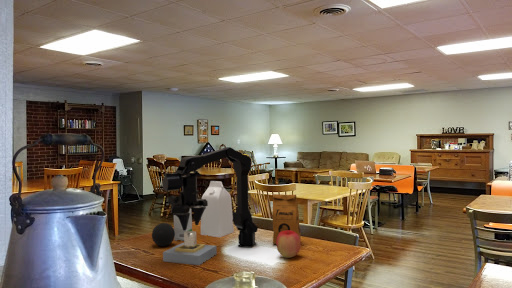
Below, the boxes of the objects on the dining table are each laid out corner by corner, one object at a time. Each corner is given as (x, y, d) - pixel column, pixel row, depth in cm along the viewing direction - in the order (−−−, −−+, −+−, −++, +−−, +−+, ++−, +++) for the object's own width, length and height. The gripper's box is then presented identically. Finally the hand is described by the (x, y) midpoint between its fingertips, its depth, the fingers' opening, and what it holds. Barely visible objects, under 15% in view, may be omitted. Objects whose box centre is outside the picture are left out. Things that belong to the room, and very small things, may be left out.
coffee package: (297, 248, 161) (296, 196, 161) (270, 245, 166) (268, 195, 165) (303, 242, 170) (302, 193, 170) (277, 240, 175) (275, 192, 175)
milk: (233, 232, 192) (232, 180, 192) (219, 237, 182) (218, 183, 182) (214, 229, 199) (213, 179, 198) (200, 234, 189) (199, 182, 189)
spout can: (198, 254, 153) (198, 231, 153) (192, 257, 148) (192, 234, 148) (183, 252, 155) (183, 230, 155) (177, 255, 151) (176, 233, 151)
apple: (272, 255, 152) (272, 230, 152) (294, 252, 155) (293, 227, 155) (282, 262, 143) (282, 235, 143) (305, 258, 146) (304, 233, 146)
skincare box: (186, 241, 177) (185, 207, 177) (173, 240, 178) (172, 207, 178) (193, 236, 185) (192, 204, 185) (180, 236, 186) (179, 204, 186)
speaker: (170, 241, 177) (169, 220, 177) (178, 246, 169) (177, 223, 168) (149, 245, 172) (148, 223, 172) (156, 250, 163) (155, 227, 163)
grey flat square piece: (216, 254, 155) (216, 243, 155) (199, 265, 142) (199, 253, 142) (182, 251, 161) (182, 240, 161) (163, 261, 148) (162, 249, 148)
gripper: (184, 185, 163) (185, 221, 163) (158, 191, 146) (159, 231, 146) (207, 185, 159) (208, 223, 159) (183, 192, 142) (184, 233, 142)
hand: (190, 227), depth 152 cm, fingers open, 9 cm apart
